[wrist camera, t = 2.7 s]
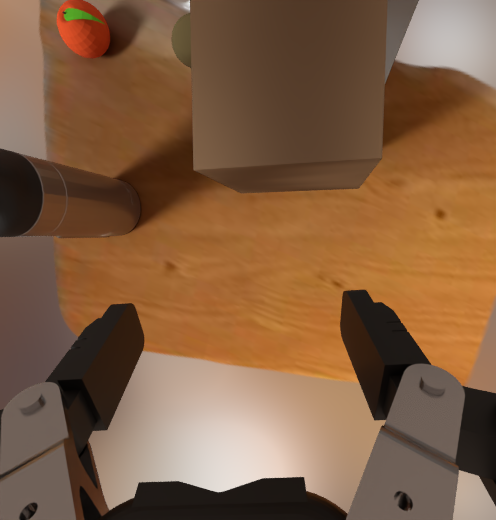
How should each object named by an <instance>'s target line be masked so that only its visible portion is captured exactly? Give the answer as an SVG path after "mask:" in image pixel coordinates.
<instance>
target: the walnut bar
mask: <svg viewBox="0 0 496 520" xmlns="http://www.w3.org/2000/svg"><path fill="white" fill-rule="evenodd" d="M387 5H388V0H190V22H191V71H192V121H193V170H195V171H197V172H199V173H201V174H203V175H205V176H207V177H209V178H211V179H213V180H215V181H217V182H219V183H221V184H223V185H225V186H227V187H229V188H231V189H234V190H236V191H238V192H240V193H259V192H284V191H308V190H333V189H358V188H359V187H360V186H361V185H362V184H363V182H364V181H365V180H366V178H367V177H368V176H369V174H370V173H371V172H372V170H373V169H374V168H375V167H376V165H377V164H378V163H379V161H380V160H381V159H382V146H383V118H384V90H385V61H386V33H387Z"/></svg>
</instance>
